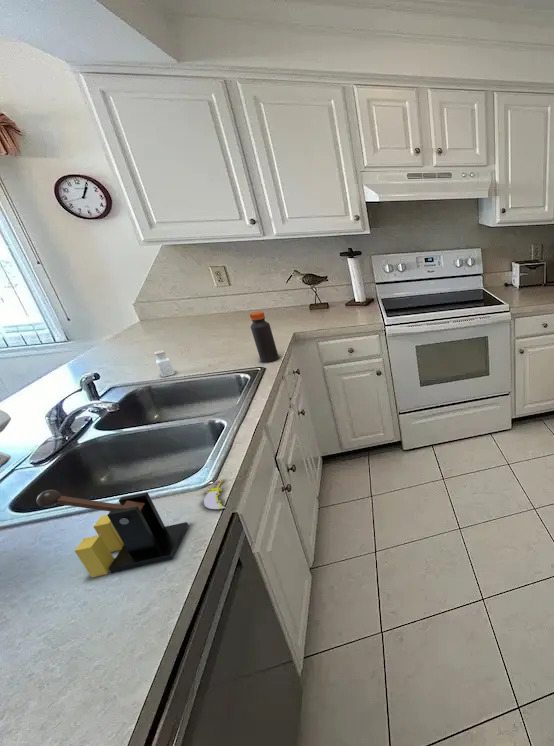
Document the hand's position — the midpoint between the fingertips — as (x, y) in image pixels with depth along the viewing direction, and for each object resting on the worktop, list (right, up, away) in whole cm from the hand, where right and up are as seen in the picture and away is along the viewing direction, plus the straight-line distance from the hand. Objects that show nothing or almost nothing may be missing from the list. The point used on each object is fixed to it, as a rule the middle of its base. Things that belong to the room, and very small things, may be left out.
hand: (3, 464), depth 69 cm
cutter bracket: (+14, -20, +13) cm, 28 cm away
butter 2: (+9, -22, +9) cm, 25 cm away
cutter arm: (+8, -10, +7) cm, 14 cm away
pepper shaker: (-45, +15, +91) cm, 102 cm away
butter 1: (+7, -20, +14) cm, 25 cm away
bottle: (-12, +21, +102) cm, 105 cm away
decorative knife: (+18, -13, +26) cm, 35 cm away
